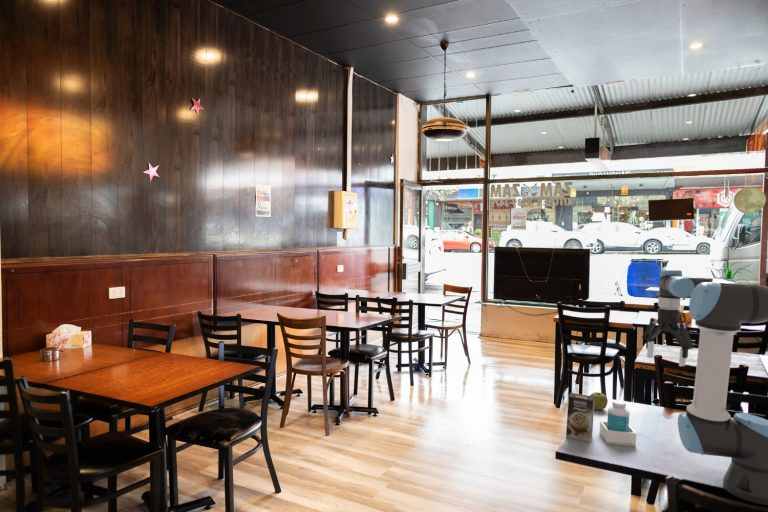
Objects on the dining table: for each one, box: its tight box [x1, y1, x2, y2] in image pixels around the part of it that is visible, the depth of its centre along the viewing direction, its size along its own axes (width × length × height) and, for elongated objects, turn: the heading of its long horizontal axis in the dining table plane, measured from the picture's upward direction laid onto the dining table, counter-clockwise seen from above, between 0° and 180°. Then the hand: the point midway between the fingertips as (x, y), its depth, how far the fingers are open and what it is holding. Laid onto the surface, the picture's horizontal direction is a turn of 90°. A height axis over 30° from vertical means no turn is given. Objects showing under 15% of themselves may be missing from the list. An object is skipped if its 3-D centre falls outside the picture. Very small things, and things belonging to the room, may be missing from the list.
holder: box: [599, 420, 637, 447], centre depth 196 cm, size 10×10×5 cm
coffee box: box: [565, 392, 595, 443], centre depth 197 cm, size 9×6×16 cm
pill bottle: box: [606, 400, 630, 432], centre depth 196 cm, size 8×7×14 cm
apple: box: [589, 392, 608, 411], centre depth 231 cm, size 8×8×7 cm
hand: (665, 361), depth 204 cm, fingers open, 13 cm apart
